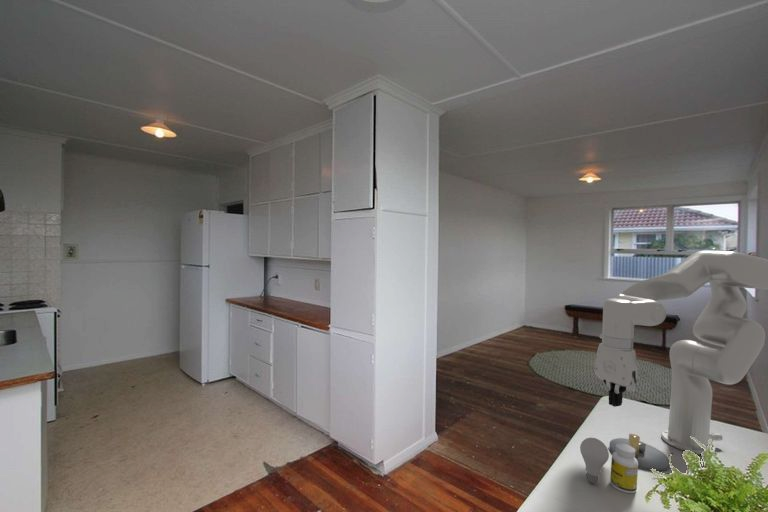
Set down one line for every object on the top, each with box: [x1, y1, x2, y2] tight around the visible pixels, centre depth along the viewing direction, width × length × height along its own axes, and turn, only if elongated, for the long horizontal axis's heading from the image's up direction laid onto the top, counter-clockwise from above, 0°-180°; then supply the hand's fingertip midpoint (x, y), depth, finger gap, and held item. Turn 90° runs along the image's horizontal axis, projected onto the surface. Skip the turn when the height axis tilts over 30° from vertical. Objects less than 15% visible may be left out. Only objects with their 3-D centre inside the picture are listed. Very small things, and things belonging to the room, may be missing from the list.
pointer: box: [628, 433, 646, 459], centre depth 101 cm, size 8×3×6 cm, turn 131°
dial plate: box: [608, 437, 670, 472], centre depth 103 cm, size 14×14×2 cm
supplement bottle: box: [609, 443, 639, 494], centre depth 89 cm, size 5×5×10 cm
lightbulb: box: [579, 437, 610, 485], centre depth 89 cm, size 6×6×11 cm
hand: (615, 404), depth 105 cm, fingers closed
